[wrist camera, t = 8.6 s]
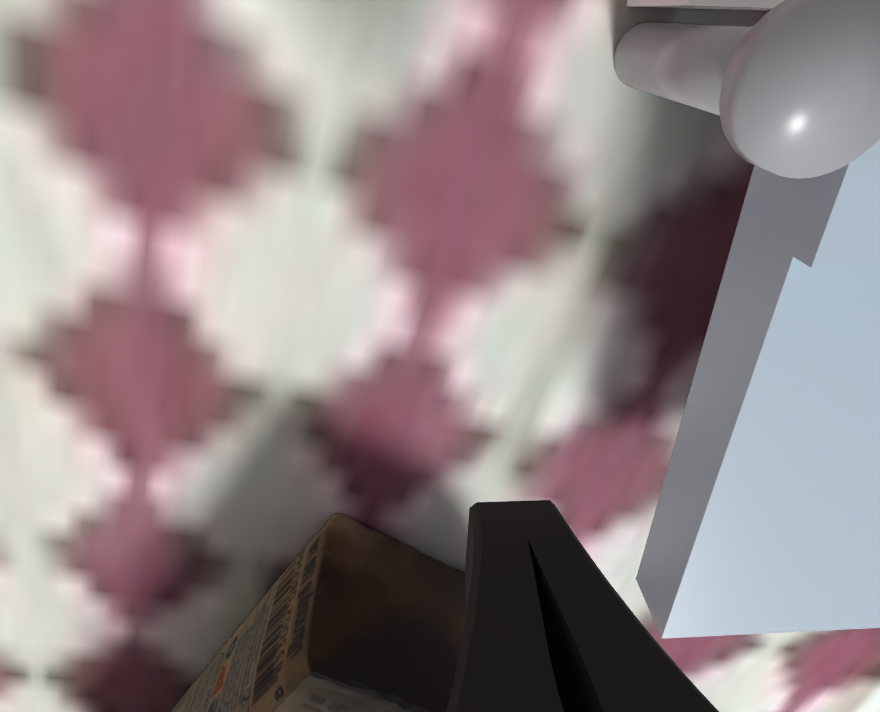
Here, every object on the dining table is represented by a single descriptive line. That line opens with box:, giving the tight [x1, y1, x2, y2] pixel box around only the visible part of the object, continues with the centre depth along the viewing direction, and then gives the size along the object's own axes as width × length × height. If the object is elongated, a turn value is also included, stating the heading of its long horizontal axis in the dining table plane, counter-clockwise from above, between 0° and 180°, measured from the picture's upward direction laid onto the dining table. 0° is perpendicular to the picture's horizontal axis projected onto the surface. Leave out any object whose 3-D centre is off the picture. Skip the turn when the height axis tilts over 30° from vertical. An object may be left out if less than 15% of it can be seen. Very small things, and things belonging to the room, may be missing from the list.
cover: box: [636, 0, 880, 638], centre depth 13 cm, size 15×10×3 cm, turn 179°
